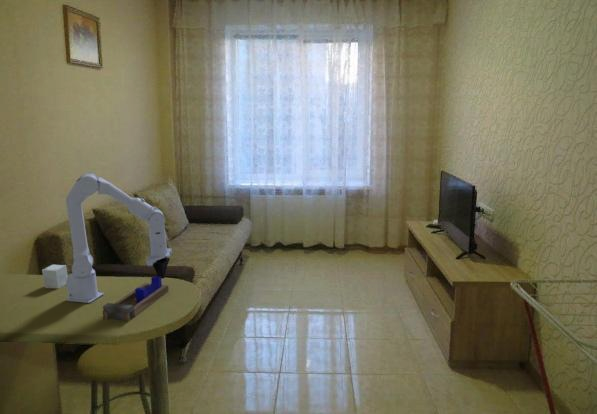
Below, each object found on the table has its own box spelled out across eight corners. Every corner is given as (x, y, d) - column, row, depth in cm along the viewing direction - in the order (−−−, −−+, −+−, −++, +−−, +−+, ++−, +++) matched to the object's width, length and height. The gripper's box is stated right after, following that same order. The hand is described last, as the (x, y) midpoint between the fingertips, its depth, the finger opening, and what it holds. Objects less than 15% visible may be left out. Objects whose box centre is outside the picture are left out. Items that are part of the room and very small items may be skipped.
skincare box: (69, 283, 179) (66, 264, 178) (58, 289, 174) (55, 270, 172) (55, 282, 181) (53, 264, 179) (44, 288, 175) (41, 269, 173)
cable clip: (151, 291, 169) (149, 276, 168) (162, 292, 168) (161, 276, 167) (133, 305, 158) (131, 289, 156) (145, 306, 157) (143, 289, 155)
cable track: (103, 318, 148) (101, 306, 147) (145, 289, 171) (144, 279, 170) (129, 321, 146) (127, 309, 145) (168, 291, 168) (167, 280, 168)
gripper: (157, 249, 162) (161, 285, 165) (178, 237, 175) (181, 271, 178) (139, 248, 163) (143, 284, 166) (161, 236, 177) (164, 270, 180)
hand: (161, 277), depth 172 cm, fingers closed
